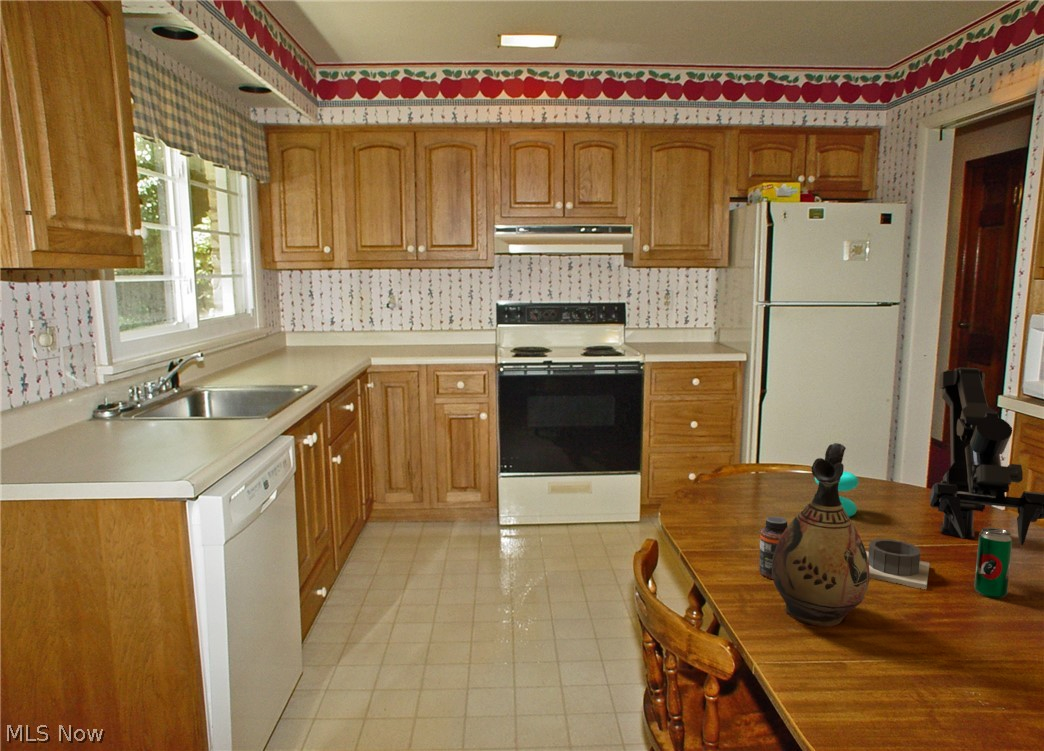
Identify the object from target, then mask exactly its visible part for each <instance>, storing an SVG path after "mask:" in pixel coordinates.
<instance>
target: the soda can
mask: <svg viewBox="0 0 1044 751" xmlns="http://www.w3.org/2000/svg"><path fill="white" fill-rule="evenodd" d="M1013 541H1014V539H1013V537H1011V532H1009V531H1008V530H1005V529H1003V528H998V527H990V526H989V527H983V528H982V529H981V531H980V532H979V534H978V540H977V542H978V543H977V552H976V563H975V564H976V565H975V573H974V574H975V576H974V584H973V585H974V586H973V587H974V590H975V591H976V592H977V593H978V594H980V595H981V596H984V597H987V598H991V599H1003V598H1005V597H1006V596H1008V594H1009V592H1008V590H1009V583H1010V582H1009V581H1010V572H1011V571H1010V570H1011V563H1012V562H1011V561H1012V560H1011V559H1012V549H1013Z"/></svg>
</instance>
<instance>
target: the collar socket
mask: <svg viewBox="0 0 1044 751" xmlns="http://www.w3.org/2000/svg"><path fill="white" fill-rule="evenodd" d="M866 553H867V558H868V561H869V574H870V579H872V578H873V579H874V580H877V581H881V580H882V582H886V581H888V582H887V583H891V582H892V583H891V584H896V583H898V584H897V585H900V584H902V585H901V586H905V585H906V587H910V588H916V589H920V588H921V590H924V589H925V590H924V591H926V590H927V589H928V580H929V572H930V562H929V561H923V560H921V549H920V548H918V547H917V546H916V545H913V544H911V543H909V542H906V541H902V540H897V539H890V538H877V539H876V538H875V539H873V540H870V541H869V545H868V550H866Z"/></svg>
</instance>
